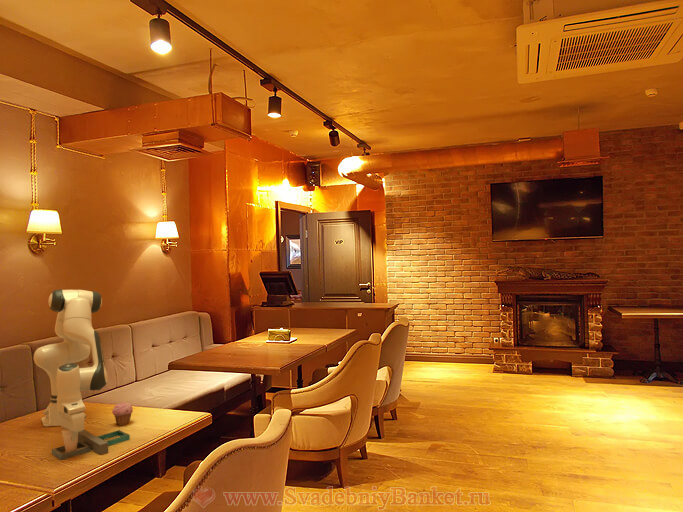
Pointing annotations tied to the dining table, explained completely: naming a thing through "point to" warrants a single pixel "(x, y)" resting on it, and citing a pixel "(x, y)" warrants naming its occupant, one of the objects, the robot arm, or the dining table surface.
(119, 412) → the cupcake
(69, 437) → the smoothie
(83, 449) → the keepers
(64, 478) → the dining table surface
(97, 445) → the door edge
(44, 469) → the dining table surface
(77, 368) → the robot arm
